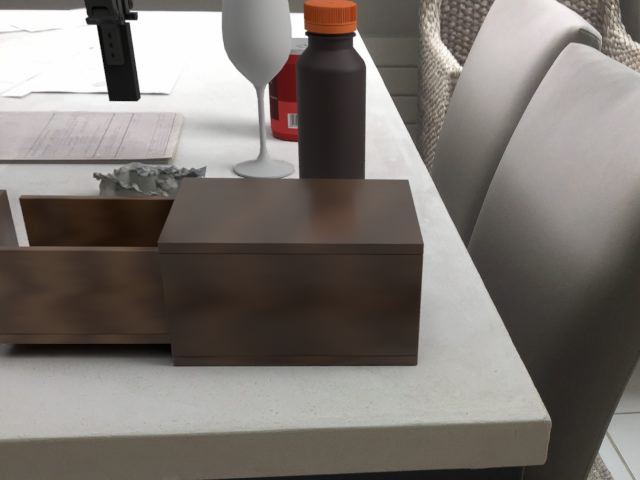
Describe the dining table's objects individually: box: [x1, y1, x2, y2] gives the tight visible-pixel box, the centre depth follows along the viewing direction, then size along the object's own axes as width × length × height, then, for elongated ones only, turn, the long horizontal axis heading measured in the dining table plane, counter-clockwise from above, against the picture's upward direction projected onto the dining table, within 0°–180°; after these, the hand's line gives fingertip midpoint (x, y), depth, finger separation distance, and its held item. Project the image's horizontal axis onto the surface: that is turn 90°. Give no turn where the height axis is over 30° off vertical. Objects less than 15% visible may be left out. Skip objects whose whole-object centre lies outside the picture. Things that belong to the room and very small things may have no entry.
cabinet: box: [157, 177, 425, 367], centre depth 71 cm, size 19×15×10 cm
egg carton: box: [92, 161, 208, 196], centre depth 95 cm, size 11×8×4 cm
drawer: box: [0, 189, 176, 345], centre depth 70 cm, size 24×13×8 cm, turn 93°
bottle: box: [296, 0, 367, 179], centre depth 88 cm, size 7×7×20 cm
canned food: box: [267, 37, 308, 142], centre depth 117 cm, size 8×8×11 cm
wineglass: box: [221, 0, 295, 178], centre depth 101 cm, size 8×8×21 cm
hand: (125, 99), depth 86 cm, fingers closed
